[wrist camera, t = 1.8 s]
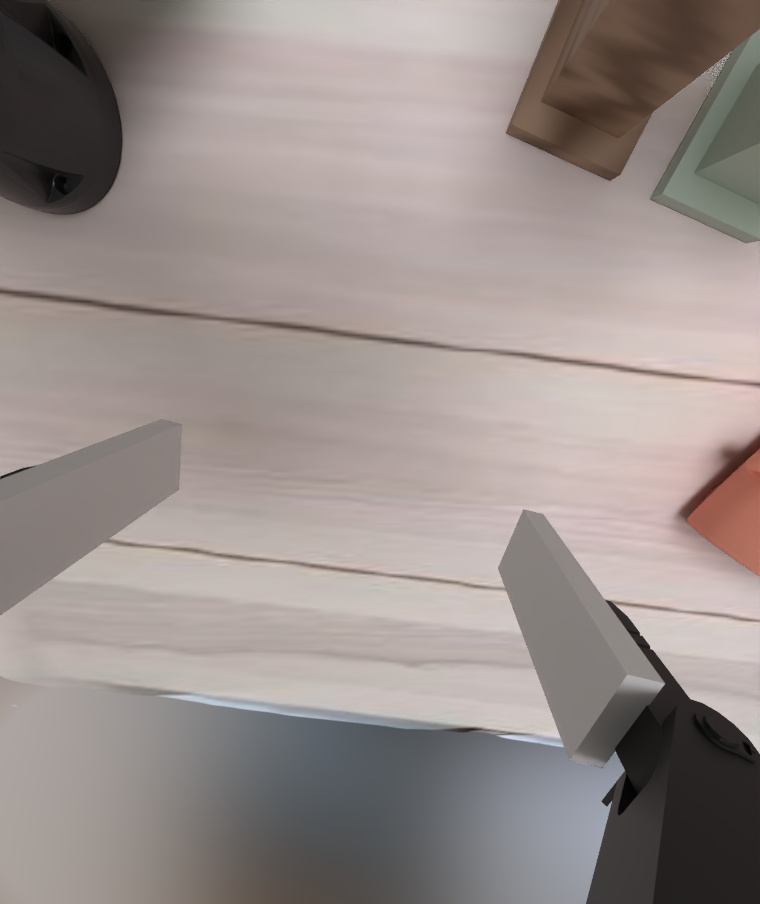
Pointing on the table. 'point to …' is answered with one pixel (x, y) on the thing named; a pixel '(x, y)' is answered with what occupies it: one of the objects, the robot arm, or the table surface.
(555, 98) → the tall pedestal
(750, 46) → the short pedestal
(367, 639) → the table surface
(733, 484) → the teapot
